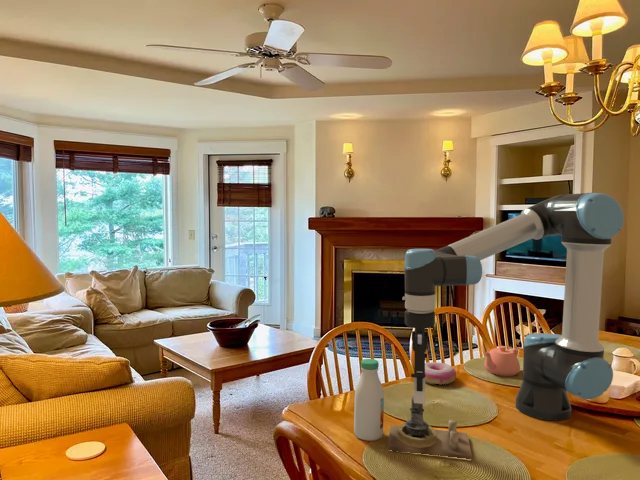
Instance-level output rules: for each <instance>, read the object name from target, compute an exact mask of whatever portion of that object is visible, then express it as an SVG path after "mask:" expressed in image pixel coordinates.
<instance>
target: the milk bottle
mask: <svg viewBox="0 0 640 480" xmlns="http://www.w3.org/2000/svg"><path fill="white" fill-rule="evenodd" d="M379 365H380V364H379V360H377V359H374V358H365V359H362V360H361V361H360V370H361V374H360V376H359V379H358V381H357V383H356V385H355V391H354V410H353V411H354V412H353V416H354V417H353V418H354V419H353V432H354V435H355V437H356V438H357V439H359V440H362V441H368V442H369V441H370V442H373V441H378V440H380V439H381V438H382V437H383V436H384V413H385V411H384V410H385V406H384V405H385V401H384V399H385V398H384V388H383V385H382V383H381V379H380V377H379V373H378V371H379ZM379 438H380V439H379ZM377 439H378V440H377Z"/></svg>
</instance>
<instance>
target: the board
mask: <svg viewBox="0 0 640 480" xmlns="http://www.w3.org/2000/svg"><path fill="white" fill-rule="evenodd" d="M405 423H406V422H405ZM405 423H402V424H401V425H395V424H394V425H393V424H391V425H390V428H389V435H388V440H387V441H388V442H387V451H388V450H392V451H398V452H410V453H421V454H429V455H438V456H439V455H440V456H448V457H457V458H466V459H472V460H473V453H472V451H471V450H472V449H471V446H470V445H471V444H470V440H469V435H468V432H459V431H458V430H457V425H458V424H457V421H456V420H454V419H449V420H448V430H441V429H440V430H439V429H435V428H434V427H432V426H431V425H429V426H428V428H427V431H426V433H425V434H424V435H425V436H426V437H425V438H415V437H411V436H408V434H410V433H409V432H408V430H407V426H406V425H405ZM398 452H397V453H398Z"/></svg>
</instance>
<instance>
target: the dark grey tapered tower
mask: <svg viewBox="0 0 640 480" xmlns="http://www.w3.org/2000/svg"><path fill="white" fill-rule="evenodd" d="M409 410H410V419H409V420H406V421H405V425H406V426H407V430H408V432H409V433H410V434H408V436H411V437H415V438H425V437H426V436H425V435H424V434H425V433H426V431H427V428H428V426H430V425H429V424H428V422H426V421H425V420H424V412H425V409H424V404H419V403H414V395H413V396H412V397H411V407H410V408H409Z"/></svg>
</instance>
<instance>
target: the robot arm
mask: <svg viewBox="0 0 640 480" xmlns="http://www.w3.org/2000/svg"><path fill="white" fill-rule="evenodd" d="M623 211H624V210H623V208H622V206H621V204H620V203H619V202H618V201H617V200H616V199H615V198H614V197H613V196H611V195H609V194H607V193H601V192H584V193H582V192H581V193H564V194H563V193H562V194H559V195H555V196H552V197H549V198H547V199H545V200H542V201H540V202H537V203H535V204H534V205H531V206H528V207H527V208H524V209H523V210H522V211H521V212H520V214H519V215H517V216H514V217H511V218H509V219H507V220H505V221H503V222H500V223H497V224H496V225H493V226H491V227H488V228H485V229H484V230H482V231H479V232H477V233H474V234H472V235H469V236H467V237H464V238H462V239H460V240H458V241H455V242H453V243H450V244H448V245H447V246H443V247H440V248H439V249H432V248H410V249H407V250H406V251H405V254H404V265H403V266H404V267H403V269H404V296H402V301H405V302H404V308H405V309H406V310H405V311H404V324H405V326H406V327H409V328H414V330H411V341H412V350H413V352H414V360H413V361H414V373H411V374H410V377H411V378H413V396H414V403H419V404H423V405H425V404H426V382H425V377H426V374H425V363H426V358H427V359H428V353H426V352H427V351H428V350H427V349H428V346H427V343H428V341H429V337H428V336H429V335H428V331H426V330H425V329H431V328H434V327H435V324H436V312H435V311H434V310H436V287H442V286H443V287H446V286H448V287H450V286H452V287H453V286H470V285H471V286H472V285H476V284H479V282H481V280H482V276H483V265H482V262H481V261H482V260H485V259H488V258H489V257H492V256H494V255H496V254H499V253H501V252H503V251H506V250H509V249H510V248H513V247H516V246H518V245H519V244H522V243H525V242H527V241H530V240H532V239H533V240H535V241H536V240H540V239H544V238H546V237H549V236H561V240H560V242H561V243H560V244H562V245H563V246H564V247H565V248H566V263H565V264H566V265H565V281H564V296H563V313H562V327H561V329H562V331H561V334H557V333H556V334H555V333H546V332H545V333H544V332H543V333H542V332H541V333H538V332H537V333H529V334H527V335H525V337H524V341H523V342H524V343H523V346H522V347H523V360H522V361H523V363H522V365H523V366H522V382H521V385H520V387H519V389H518V391H517V394H516V397H515V408H516V409H517V410H518V411H519V412H521V413H523V414H525V415H527V416H530V417H532V418H534V419H535V418H537V419H539V420H540V419H541V420H545V421H546V420H547V421H563V420H568V419H569V418H570V417H571V416H572V406H571V403H570V400H569V396H568V393H569V394H571V395H573V396H576V397H579V398H580V399H584V400H593V399H597V398H598V397H601V396H602V395H603V394H604V393H605V392H606V391H608V389H610V387H611V384H612V382H613V378H614V371H613V368H612V366H611V365H610V363H609V362H608V361H607V360H606V359H605V358H604V357H605V356H604V355H605V347H604V346H603V344H602V343H600V341H599V334H600V333H599V331H600V329H599V327H600V317H601V315H600V314H601V299H602V298H601V297H602V286H603V285H602V283H603V270H604V268H603V267H604V255H605V254H604V253H605V251H606V250H607V249H608V248H610V247H611V246H612V238H614V237H615V236H617V235H618V234H619V231H621V230H622V228H623V225H624V221H625V220H624V217H625V216H624V212H623ZM567 392H568V393H567Z"/></svg>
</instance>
